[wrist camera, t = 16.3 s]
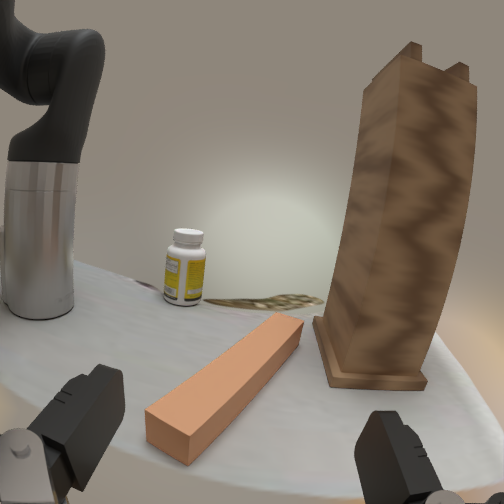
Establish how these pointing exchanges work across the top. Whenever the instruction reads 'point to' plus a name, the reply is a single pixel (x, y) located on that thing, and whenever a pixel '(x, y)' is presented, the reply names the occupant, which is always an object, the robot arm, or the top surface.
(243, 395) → the bar
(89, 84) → the robot arm
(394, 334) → the stand
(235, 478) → the top surface
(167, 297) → the supplement bottle
